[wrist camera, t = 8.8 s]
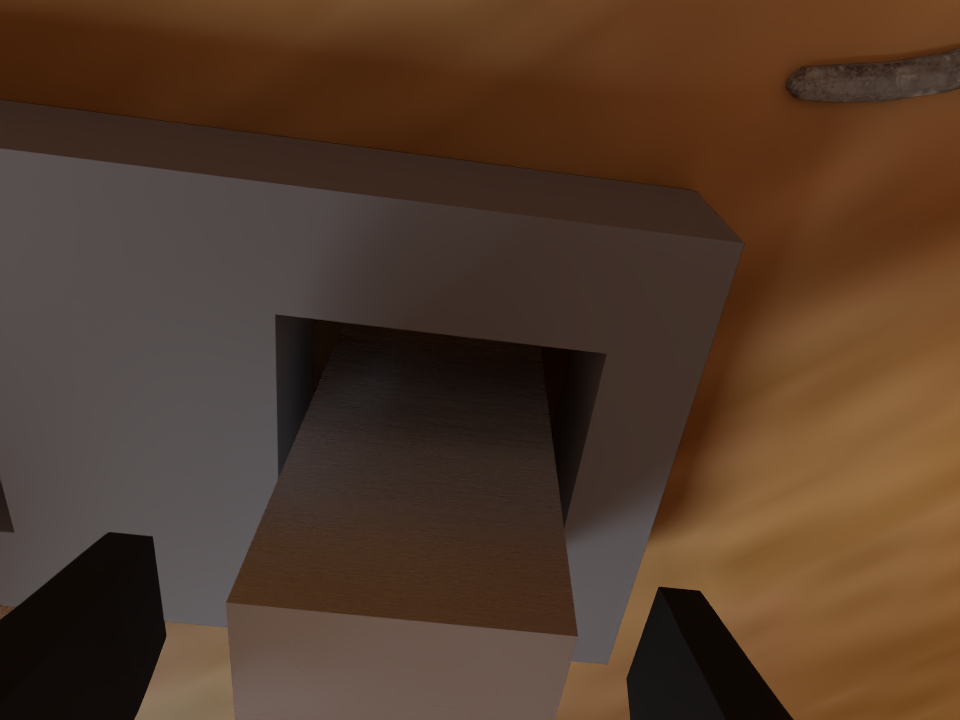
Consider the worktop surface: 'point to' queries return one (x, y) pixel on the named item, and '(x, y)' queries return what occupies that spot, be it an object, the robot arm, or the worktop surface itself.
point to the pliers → (877, 79)
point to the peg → (410, 543)
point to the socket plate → (290, 332)
